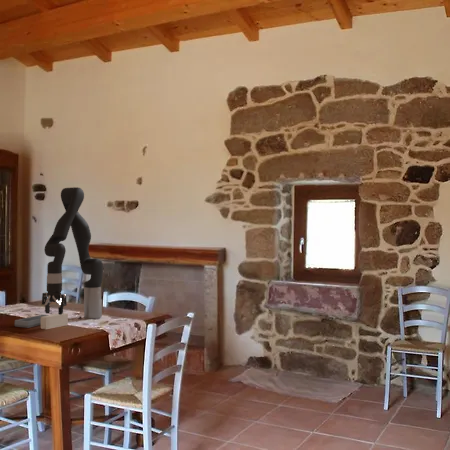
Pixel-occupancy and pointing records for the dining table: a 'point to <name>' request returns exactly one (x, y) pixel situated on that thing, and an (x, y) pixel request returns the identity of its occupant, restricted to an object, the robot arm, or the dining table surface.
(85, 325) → the dining table surface
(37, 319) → the grey flat block
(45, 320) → the beige rectangular block
